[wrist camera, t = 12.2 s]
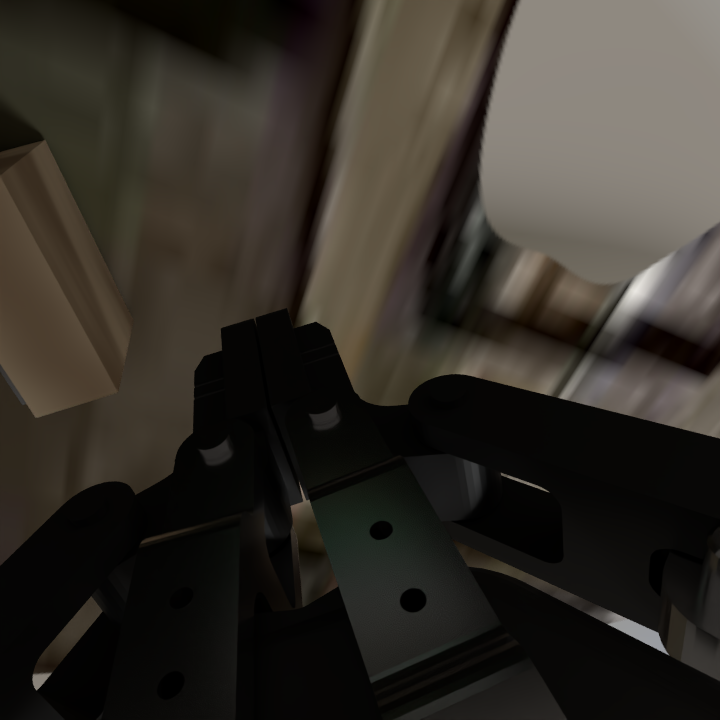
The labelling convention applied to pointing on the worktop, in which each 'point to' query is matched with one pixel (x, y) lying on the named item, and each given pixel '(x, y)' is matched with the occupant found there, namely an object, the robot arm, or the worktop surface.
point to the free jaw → (54, 291)
